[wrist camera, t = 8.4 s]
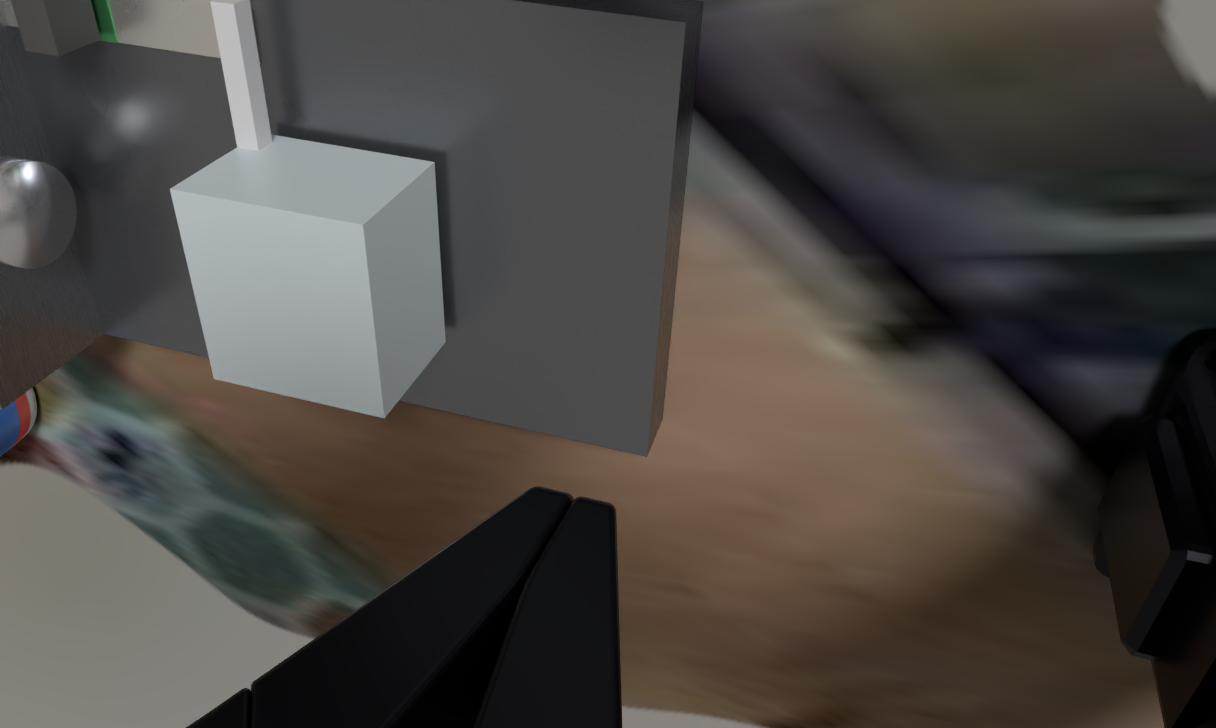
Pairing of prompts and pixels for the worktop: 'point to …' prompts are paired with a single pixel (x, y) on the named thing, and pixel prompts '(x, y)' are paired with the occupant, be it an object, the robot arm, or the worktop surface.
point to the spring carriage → (309, 253)
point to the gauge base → (391, 124)
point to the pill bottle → (17, 420)
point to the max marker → (55, 25)
